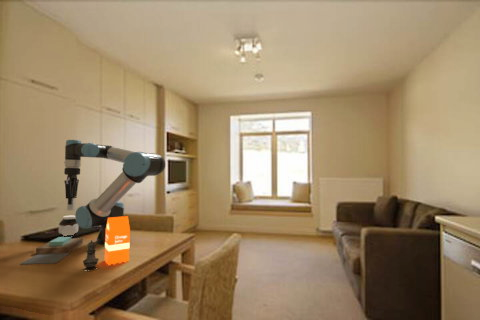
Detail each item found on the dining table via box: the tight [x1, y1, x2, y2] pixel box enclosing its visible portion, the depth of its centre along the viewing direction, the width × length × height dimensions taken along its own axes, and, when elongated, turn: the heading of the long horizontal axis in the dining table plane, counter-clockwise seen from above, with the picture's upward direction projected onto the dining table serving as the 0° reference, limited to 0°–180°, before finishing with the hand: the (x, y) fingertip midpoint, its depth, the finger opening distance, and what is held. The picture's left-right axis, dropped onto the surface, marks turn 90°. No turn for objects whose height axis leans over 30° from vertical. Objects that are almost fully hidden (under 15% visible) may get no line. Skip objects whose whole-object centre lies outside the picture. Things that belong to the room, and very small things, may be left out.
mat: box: [20, 252, 71, 266], centre depth 125 cm, size 14×14×1 cm
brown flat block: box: [35, 237, 84, 255], centre depth 141 cm, size 14×18×3 cm
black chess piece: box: [82, 239, 99, 272], centre depth 114 cm, size 6×6×12 cm
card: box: [48, 236, 72, 246], centre depth 141 cm, size 6×10×2 cm, turn 10°
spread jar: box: [58, 214, 79, 237], centre depth 168 cm, size 12×11×12 cm
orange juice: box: [104, 215, 131, 266], centre depth 125 cm, size 8×9×20 cm
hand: (70, 210), depth 152 cm, fingers closed
